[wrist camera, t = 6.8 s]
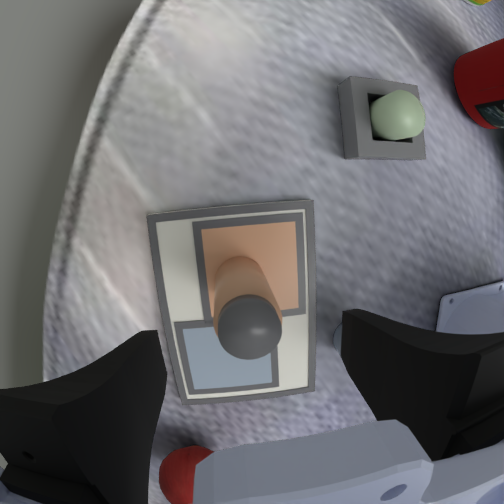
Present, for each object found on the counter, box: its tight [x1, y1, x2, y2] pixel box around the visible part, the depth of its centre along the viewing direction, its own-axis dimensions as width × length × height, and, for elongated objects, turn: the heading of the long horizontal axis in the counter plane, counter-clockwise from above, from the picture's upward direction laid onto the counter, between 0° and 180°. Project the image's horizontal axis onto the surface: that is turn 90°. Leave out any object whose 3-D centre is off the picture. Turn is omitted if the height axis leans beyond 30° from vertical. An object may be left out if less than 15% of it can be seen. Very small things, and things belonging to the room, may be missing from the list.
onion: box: [159, 445, 213, 504], centre depth 19 cm, size 6×6×8 cm
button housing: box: [337, 76, 426, 160], centre depth 17 cm, size 5×5×2 cm
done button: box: [369, 90, 425, 141], centre depth 16 cm, size 3×3×3 cm
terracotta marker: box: [213, 256, 282, 360], centre depth 16 cm, size 3×3×7 cm
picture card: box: [147, 200, 316, 405], centre depth 20 cm, size 10×14×1 cm
